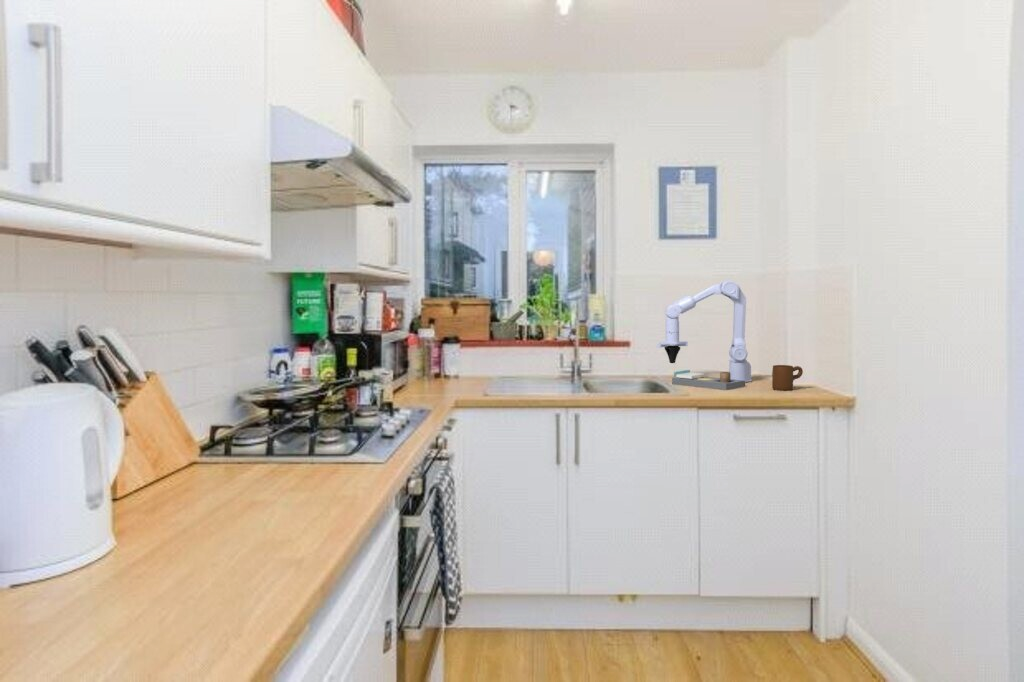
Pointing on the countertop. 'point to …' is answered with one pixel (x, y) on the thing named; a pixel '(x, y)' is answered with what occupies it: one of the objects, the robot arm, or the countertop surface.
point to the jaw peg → (725, 376)
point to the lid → (688, 374)
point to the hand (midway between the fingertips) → (672, 363)
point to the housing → (709, 383)
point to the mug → (784, 377)
